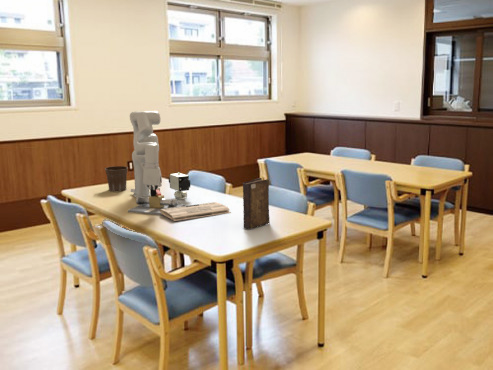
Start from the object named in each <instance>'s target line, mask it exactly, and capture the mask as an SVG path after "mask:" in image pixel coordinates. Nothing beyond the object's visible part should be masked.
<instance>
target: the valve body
mask: <svg viewBox="0 0 493 370" xmlns="http://www.w3.org/2000/svg"><path fill="white" fill-rule="evenodd" d="M135 198H136V199H135V202H136V204H137V206H138V207H144V206H146V205H147V204H149V208H157V209H160V208H162V207H164V205H165V206H168V208H174V207H177V204H179V203H178V200H179V199H178V198H176V197H174V198H172V199H170V198H169V199H168V198H165V195H163V194H161V196H158V195H157V194H156V196H154V197H151V196H148V197H142V196H137V197H135Z"/></svg>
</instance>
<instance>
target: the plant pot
mask: <svg viewBox="0 0 493 370" xmlns="http://www.w3.org/2000/svg"><path fill="white" fill-rule="evenodd" d="M128 169H129V167H128V166H124V165H121V166H120V165H118V166H117V165H115V166H113V165H112V166H108V167H105V168H104V170H105V174H106V178H107V179H106V180H107V186H108V190H109V191H110V192H120V191H121V192H123V191H126V190H127V181H128V180H127V178H128V175H127V174H128Z"/></svg>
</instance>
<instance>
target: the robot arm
mask: <svg viewBox="0 0 493 370" xmlns="http://www.w3.org/2000/svg"><path fill="white" fill-rule="evenodd" d="M129 120H130V123H131V126H132V129H133V141H132V142H133V149H134V150H133V152H132V153H131V159H132V165H133V170H134V171H133V174H134V175H133V177H134V188H130V193H133V194H132V196H133V197H134V198H137V196H142V197H147V198H149V196H151V197H154V196H156V189H157V188H161V187H162V182H163V180H162V179H163V178H162V171H161V167H160V164H159V162H160V161H159V153H160V145H159V137H158V135H156V133H154V128H153V125H154V126H155V125H160V123H161V114H160V112H158V111H157V110H145V111H144V110H143V111H142V110H141V111H132V112H130V113H129Z"/></svg>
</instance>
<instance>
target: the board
mask: <svg viewBox="0 0 493 370" xmlns="http://www.w3.org/2000/svg"><path fill="white" fill-rule="evenodd" d="M182 206H186V203H178V204H177V207H182ZM167 208H168V206H165V205H164V207H162V208H160V209H167ZM160 209H157V208H149V204H147V205H146V206H144V207H138V205H137V206H134V207H132V208H130V209H127V213H134V214H144V215H145V214H146V215H156V216H164V215H163V214H162V213H160Z"/></svg>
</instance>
